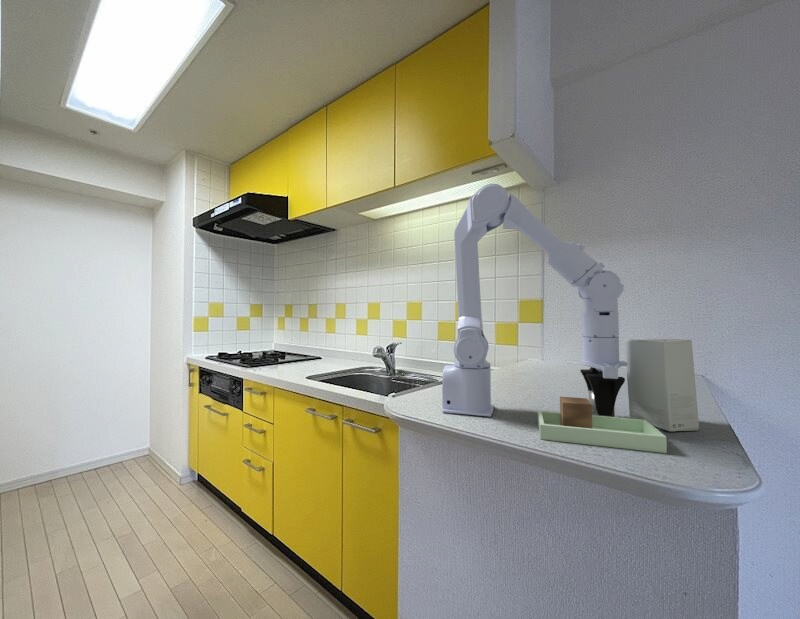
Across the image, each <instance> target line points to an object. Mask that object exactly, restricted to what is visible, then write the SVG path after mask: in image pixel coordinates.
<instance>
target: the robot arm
mask: <svg viewBox="0 0 800 619" xmlns="http://www.w3.org/2000/svg"><path fill="white" fill-rule="evenodd" d="M500 226H502V229H504V230H518V231H519V232H520V233H522V234H523V236H525V237H526V238H528V239H529V240H530V241H531V242H532V243H534V244H535V245H536V246H537V247H538V248H540V249H541V250H542V251H543V252H545V253H546V254H547V255H548V262H547V263H548V265H549V266H550V267H551V268H552V269H553V270H554V271H555V272H557V273H558V274H559V275H560V277H562V278H563V279H565V280H566V282H568V283H569V284H570V285H571V286H572V287H576V288H577V289H576V290H577V294H578V296H579V298H580V299H582V313H581V316H582V317H581V323H582V324H581V325H582V327H581V328H582V335H581V336H582V359H581V365H583V366H586V367H588V368H589V369H585V368H584V369H583V368H582V369H580V373H581V375H582V376H583V379H584V381H585V384H586V386H587V392H588V393H589V390H592V391H593V395H594V401H595V406H596V410H597V413H598V415H603V416H612V414H613V410H614V406H616V401H617V398H618V394H619V391H620V389H621V388H622V386H623V385H624V384H625V381H626V378H625V377H624V376H619V368H621V367H626V366H627V362H626V360H625V361H624V360H620V332H619V331H620V330H619V329H620V328H619V325H620V323H619V321H620V320H619V306H618V305H619V302H618V300H619V298H620V296H621V295H622V293H623V292H624V290H625V289H624V287H625V285H624V284H622V283H621V280H622V279H620V277H619V276H618V274H616V273H614V272H613V271H611V270H606V269H604V268H605V266H606V265H605V264H603V263H602V262H599V263H598V262H597V261H596V260H595V259H594V258H593V257H591V255H589V254H588V253H587V252H586V251H585V248H586V247H585V246H584V245H583V244H582V243H581V242H580V243H578V244H577V243H576V242H574V241H571V240H570V241H563V240H561V239H560V238H559V237H557V235H556V234H555V233H554V232H553V231H551V230H550V229H549V227H548V226H546V225H545V224H544V223H543V222H542V221H541V220H540V218H538V217H537V216H536V215H535V214H534V213H533V212H532V211H530V209H528V208H527V207H526V206H525V204H523V202H521V200H520V199H519V198H518V197H517V196H515V194H512V193H511V192H510V193H508V191H507V189H506V188H504V186H502V185H500V184H498V183H497V184H496V183H488V184H485V185H482V187H481V188H478V190H477V191H476V192H475V193H474V194H472V196H470V197H469V200H468V203H467V205H466V208H465V210H464V212H463V214H462V216H461V217H460V220H459V221H458V223H457V225H456V227H455V229H454V233H453V234H454V235H453V236H454V254H455V259H454V260H455V273H456V292H457V293H456V294H457V312H458V314H457V315H458V321H457V338H456V339H455V340H456V341H455V342H454V345H453V354H454V357H455V359H456V360H455V361H454V362H453V364H452V365H451V364H449V365H448V364H447V365H445V366H444V367H443V370H442V379H441V381H442V382H441V383H442V387H441V390H442V393H441V394H442V399H441V400H442V401H441V402H442V404H441V405H442V409H441V412H442V413H448V414H449V413H450V414H458V415H469V416H479V417H492V416H493V412H494V409H495V404H494V403H492V397H491V396H492V394H491V393H492V392H491V391H492V390H491V388H492V387H491V386H492V385H491V383H492V382H491V380H492V378H491V377H492V376H491V371H492V370H491V363H490V362H488V361H487V359H486V358H487V356H488V352H489V341H488V339H487V338H486V336H485V334H484V327H483V317H482V316H483V315H482V300H481V297H482V296H481V282H480V278H481V277H480V265H479V264H480V262H479V244H478V242H479V241H480V240H482V238H483V237H484V236H485V235H486V234H488V233H489V232H491V231H492V230H494V229H497V228H498V227H500Z"/></svg>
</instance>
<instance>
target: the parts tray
mask: <svg viewBox="0 0 800 619" xmlns="http://www.w3.org/2000/svg"><path fill="white" fill-rule="evenodd" d="M537 426H538V431H539V432H538V433H539V437H540V440H544V441H554V442H562V443H563V442H564V443H573V444H582V445H588V446H589V445H590V446H599V447H601V446H602V447H608V448H616V449H617V448H618V449H625V450H626V449H627V450H634V451H635V450H636V451H643V452H654V453H662V454H667V453H668V452H667V449H668V448H667V447H668V446H667V444H668V443H667V436H666V435H665V434H664V433H662V432H661V431H660V430H659V429H657V427H655V426H653V425H651V424H650V423H649V422H648V421H647V420H642V419H631V418H630V417H629V418H627V417H617V416H615V417H607V416H595V415H592V429H591V428H581V427H570V426H560V411H557V412H556V411H547V410H537Z"/></svg>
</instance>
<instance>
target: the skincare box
mask: <svg viewBox="0 0 800 619" xmlns="http://www.w3.org/2000/svg"><path fill="white" fill-rule="evenodd" d="M693 349H694V348H693V340H692V339H682V338H681V339H676V338H674V339H673V338H648V337H647V338H635V339H633V338H629V339H624V350H625V351H624V352H625V362H627V366H625V367H626V378H627V396H628V397H627V398H628V410H629V418H630V419H642V420H647V421H648V422H649V423H650V424H651V425H653V426H654V427H655V428H658V429H661V430H664V431H667V432H677V431H678V432H679V431H680V432H689V431H690V432H691V431H699V428H700V423H699V410H698V399H697V386H696V375H695V365H694V364H695V363H694V352H693Z"/></svg>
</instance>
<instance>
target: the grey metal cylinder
mask: <svg viewBox="0 0 800 619" xmlns="http://www.w3.org/2000/svg"><path fill="white" fill-rule="evenodd" d="M588 400H589V402H590V403H591V404H592V415H595V416H603V415H598V413H597V410H596V406H595V401H594V395H593V391H592V390H589V392H588ZM615 406H616V405H615ZM615 406H614V410H613V414H612V416H607V417H616V416H615V415H616V414H615V412H616V410H615Z"/></svg>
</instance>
